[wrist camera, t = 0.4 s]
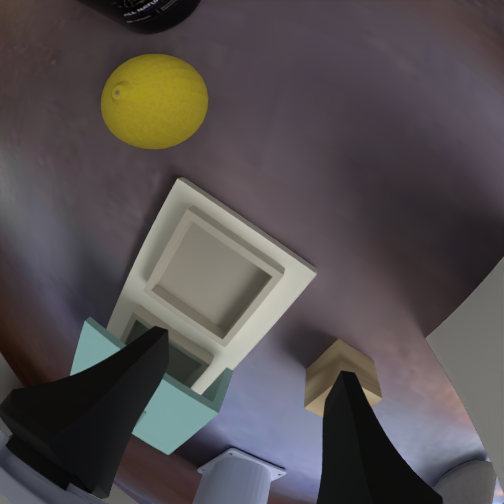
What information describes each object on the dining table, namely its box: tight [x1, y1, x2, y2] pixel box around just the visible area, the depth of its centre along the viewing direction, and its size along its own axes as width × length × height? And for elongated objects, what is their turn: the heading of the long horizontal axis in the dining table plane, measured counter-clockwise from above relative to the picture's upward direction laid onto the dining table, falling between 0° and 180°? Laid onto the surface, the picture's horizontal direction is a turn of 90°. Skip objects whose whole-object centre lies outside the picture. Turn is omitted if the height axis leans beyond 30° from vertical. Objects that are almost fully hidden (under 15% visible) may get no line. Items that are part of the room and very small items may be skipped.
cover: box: [70, 317, 233, 455], centre depth 21 cm, size 9×10×4 cm
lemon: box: [101, 54, 208, 149], centre depth 15 cm, size 6×6×8 cm
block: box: [304, 338, 382, 417], centre depth 21 cm, size 4×4×4 cm
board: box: [106, 177, 317, 395], centre depth 22 cm, size 19×11×2 cm, turn 147°
